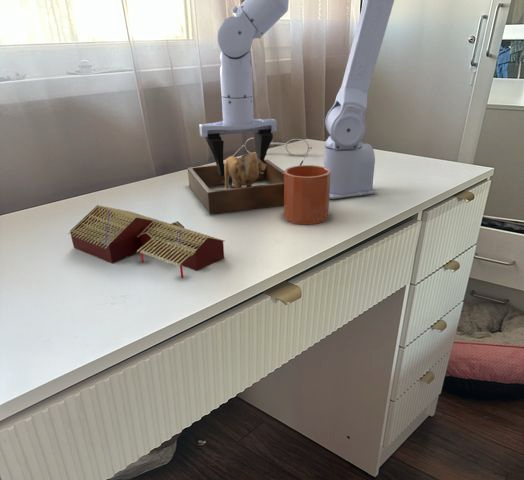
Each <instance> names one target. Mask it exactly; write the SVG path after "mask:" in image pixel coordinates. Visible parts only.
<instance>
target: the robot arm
mask: <svg viewBox="0 0 524 480" xmlns="http://www.w3.org/2000/svg"><path fill="white" fill-rule="evenodd" d="M289 1H290V0H244V1H243V2H241V4H240V5H239V6H236V5H235V6H234V7H233V8H231V12H232V14H233V15H234V16H233V15H232V16H229V17H228V16H227V17H226V18H225V19H224V20H223V22H222V23H221V24H220V26H219V28H218V30H217V43H218V45H219V46H218V47H219V49H220V55H219V62H220V68H219V75H220V76H219V77H220V91H221V92H220V93H221V95H220V96H221V111H222V120H221V121H216V122H215V121H214V122H208V123H201V124H198V125H199V127H198V128H199V136H200V137H201V138H204V139H205V141H206V143H207V145H208V147H209V149H210V150H211V153H212V156H213V158H214V161H215V165H217V168H218V173H219V175H220V176H224V174H225V171H224V164H225V161H224V143H225V141H224V140H223V139H222V136H223V135H225V136H226V135H236V134H237V135H238V134H249V133H253V140H254V153H257V157H258V158H259V159H260V160H261V161H262V162H263V163H264V160H266V156H267V152H268V151H269V148H270V146H271V145H270V143H272V141H273V139H274V133H273V132H277V130H278V129H277V128H278V126H277V125H278V122H277V120H276V119H274V118H254V85H253V83H254V80H253V67H252V63H251V49H252V45H253V40H255V39H259V40H260V39H261V38H262V37H263V36H264V35H265V34H266V33H267V32H268V31H269V30H270V29H271V28H272V27H273V26H274V25H275V24H277V22H278V21H279V20H280V19H282V18H283V16H285V15H286V14H287V12H288V11H289ZM394 4H395V0H363V2H362V6H361V9H360V14H359V17H358V21H357V25H356V29H355V33H354V37H353V40H352V44H351V48H350V51H349V55H348V59H347V63H346V68H345V71H344V75H343V79H342V82H341V86H340V88H339V90H338V92H337V94H336V97H335V101H334V103H333V105H332V106H331V108H330V109H329V110H328V111H327V114H326V116H325V121H324V123H325V124H324V125H325V129H326V131H327V133H328V134H329V135H328V137H327V139H326V140H325V142H324V147H323V151H324V153H323V167H326V168H328V169H329V170H330V172H331V174H330V193H329V200H337V199H343V198H344V199H345V198H352V197H360V196H367V195H373V194H374V193H375V191H374V190H373V184H374V177H375V176H374V174H375V164H376V156H375V151H374V148H373V147H372V145H371V144H369V143H364V142H363V139H364V137H365V134H366V131H367V130H366V128H367V127H366V119H365V118H366V117H365V116H366V112H367V109H368V93H369V90H370V87H371V82H372V79H373V76H374V72H375V68H376V65H377V61H378V58H379V55H380V52H381V47H382V45H383V42H384V38H385V35H386V31H387V28H388V23H389V20H390V16H391V14H392V10H393V6H394Z"/></svg>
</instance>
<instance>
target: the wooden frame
mask: <svg viewBox="0 0 524 480" xmlns="http://www.w3.org/2000/svg"><path fill="white" fill-rule="evenodd" d="M264 163H265V164H266V168H265V170H264V173H263V174H260V173H259V176H258V178H257V179H256V180H255V181H256V182H257V181H265V180H266V181H267V182H268V183H267V184H260V185H251V186H250V187H246V186H241V188H236V187H233V188H229V189H225V188H223V189H216V190H211V189H210V188H209V187H211V186H219V185H225V183H224V184H222V183H221V182H222V181H223V180H225V174H224V176H220V175H219V173H218V168H217V164H210V165H200V166H190V167H187V179H188V187H189V188H190V190H191V191H192V192H193V194H194V195H195V196H196V198H197V199H198V201H199V202H200V203H201V205H202V206H203V207H204V209H205V210H206V212H207V213H208V214H209V215H215V214H223V213H232V212H240V211H248V210H256V209H262V208H263V209H264V208H270V207H271V208H272V207H279V206H284V169H282V168H280V166H278V165H276V164H275V163H274V162H272V161H271V160H269V159H264ZM224 165H225V163H224ZM255 181H254V182H255ZM228 182H229V185H230V184H232V178H231V175H230V176H229V180H228Z"/></svg>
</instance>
